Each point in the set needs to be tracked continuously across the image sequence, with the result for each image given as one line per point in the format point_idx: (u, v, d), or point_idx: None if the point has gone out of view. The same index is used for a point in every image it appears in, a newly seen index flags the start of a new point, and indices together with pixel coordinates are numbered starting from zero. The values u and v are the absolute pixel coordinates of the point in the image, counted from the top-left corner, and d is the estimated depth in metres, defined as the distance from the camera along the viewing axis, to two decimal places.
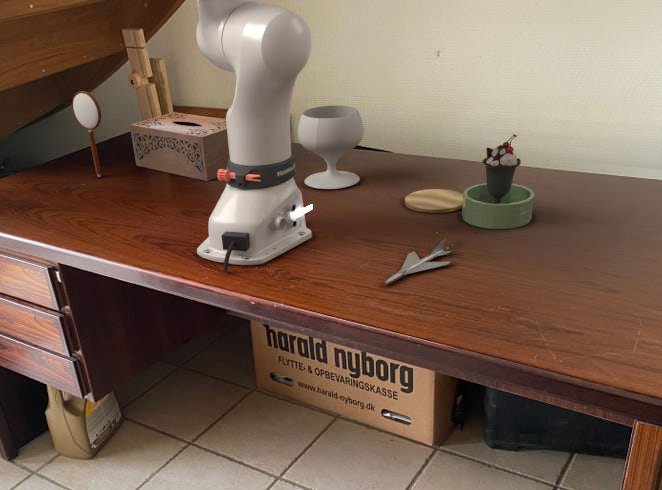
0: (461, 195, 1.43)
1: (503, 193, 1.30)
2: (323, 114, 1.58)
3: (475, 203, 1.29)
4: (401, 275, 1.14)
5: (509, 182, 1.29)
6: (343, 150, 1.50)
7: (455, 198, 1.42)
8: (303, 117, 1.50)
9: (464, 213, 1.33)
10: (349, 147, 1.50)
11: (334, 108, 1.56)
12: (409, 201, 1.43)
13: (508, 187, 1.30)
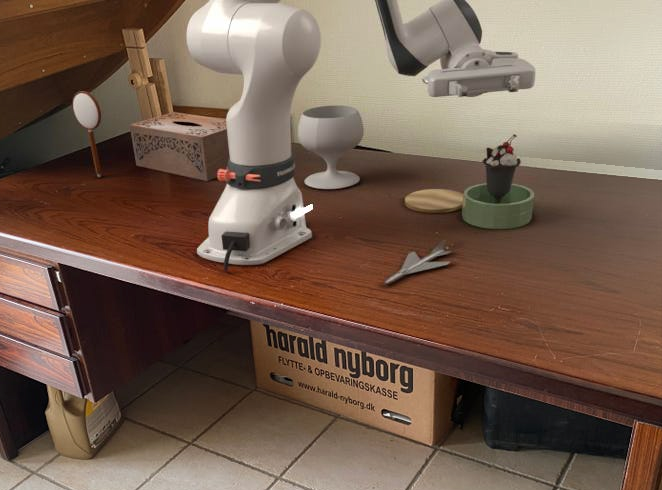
0: (461, 195, 1.43)
1: (503, 193, 1.30)
2: (323, 114, 1.58)
3: (475, 203, 1.29)
4: (401, 275, 1.14)
5: (509, 182, 1.29)
6: (343, 150, 1.50)
7: (455, 198, 1.42)
8: (303, 117, 1.50)
9: (464, 213, 1.33)
10: (349, 147, 1.50)
11: (334, 108, 1.56)
12: (409, 201, 1.43)
13: (508, 187, 1.30)
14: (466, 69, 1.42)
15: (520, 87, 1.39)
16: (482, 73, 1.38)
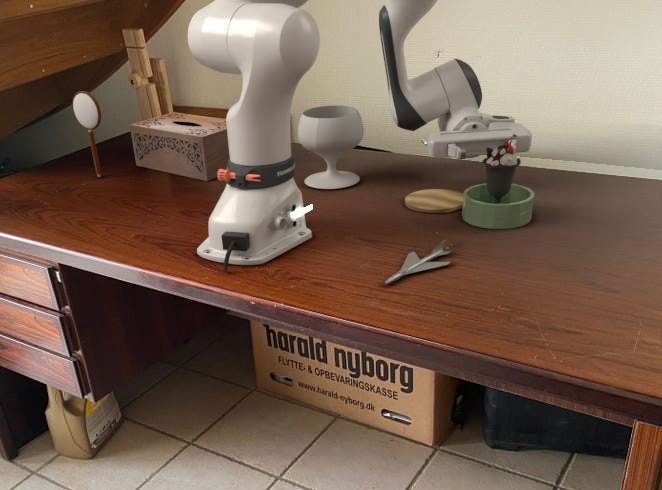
0: (461, 195, 1.43)
1: (503, 193, 1.30)
2: (323, 114, 1.58)
3: (475, 203, 1.29)
4: (401, 275, 1.14)
5: (509, 182, 1.29)
6: (343, 150, 1.50)
7: (455, 198, 1.42)
8: (303, 117, 1.50)
9: (464, 213, 1.33)
10: (349, 147, 1.50)
11: (334, 108, 1.56)
12: (409, 201, 1.43)
13: (508, 187, 1.30)
14: (464, 132, 1.46)
15: (517, 150, 1.42)
16: (480, 136, 1.42)
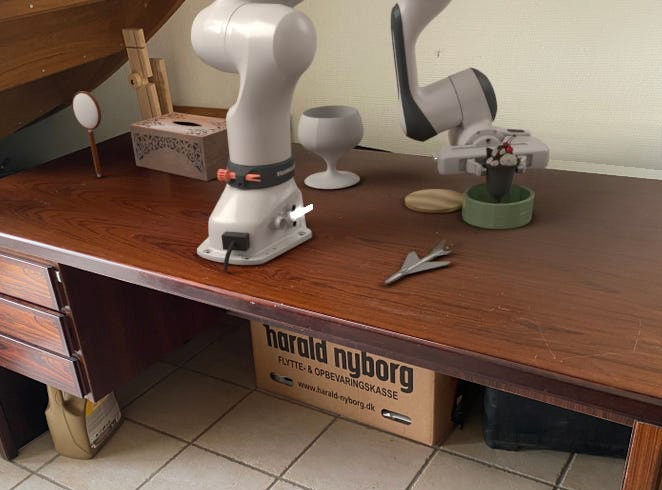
0: (461, 195, 1.43)
1: (503, 193, 1.30)
2: (323, 114, 1.58)
3: (475, 203, 1.29)
4: (401, 275, 1.14)
5: (509, 182, 1.29)
6: (343, 150, 1.50)
7: (455, 198, 1.42)
8: (303, 117, 1.50)
9: (464, 213, 1.33)
10: (349, 147, 1.50)
11: (334, 108, 1.56)
12: (409, 201, 1.43)
13: (508, 187, 1.30)
14: (477, 146, 1.37)
15: (534, 167, 1.33)
16: None
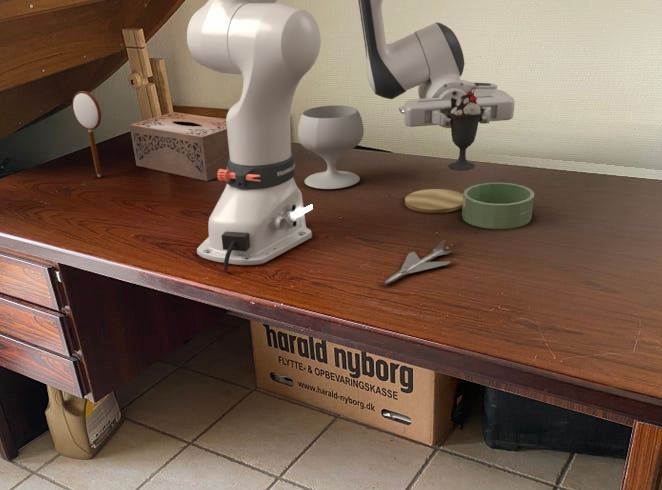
0: (461, 195, 1.43)
1: (467, 143, 1.31)
2: (323, 114, 1.58)
3: (475, 203, 1.29)
4: (401, 275, 1.14)
5: (473, 132, 1.30)
6: (343, 150, 1.50)
7: (455, 198, 1.42)
8: (303, 117, 1.50)
9: (464, 213, 1.33)
10: (349, 147, 1.50)
11: (334, 108, 1.56)
12: (409, 201, 1.43)
13: (472, 137, 1.31)
14: (444, 99, 1.38)
15: (499, 118, 1.34)
16: None
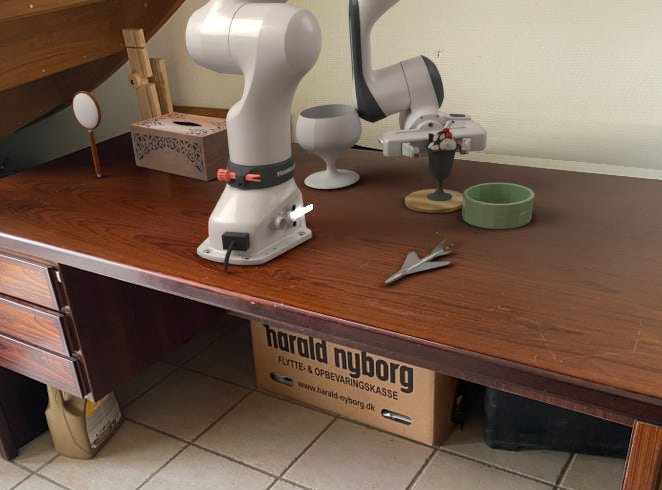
0: (461, 195, 1.43)
1: (444, 176, 1.39)
2: (321, 113, 1.57)
3: (475, 203, 1.29)
4: (401, 275, 1.14)
5: (449, 165, 1.38)
6: (341, 149, 1.50)
7: (455, 198, 1.42)
8: (300, 118, 1.50)
9: (464, 213, 1.33)
10: (347, 146, 1.50)
11: (332, 106, 1.56)
12: (409, 201, 1.43)
13: (448, 170, 1.39)
14: (420, 130, 1.45)
15: (472, 149, 1.42)
16: None
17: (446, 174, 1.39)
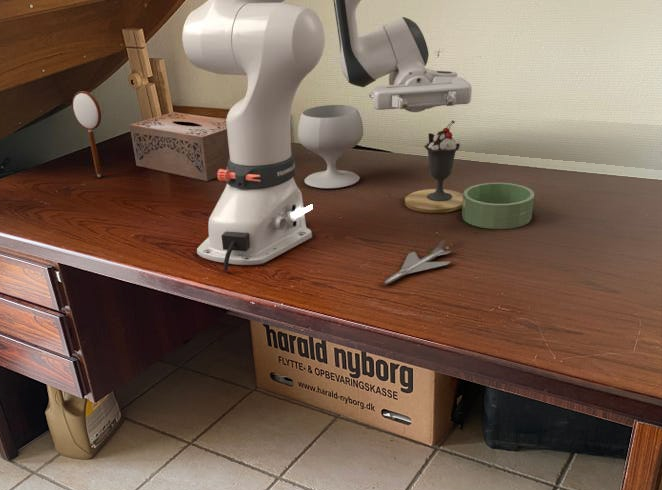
0: (461, 195, 1.43)
1: (444, 176, 1.39)
2: (320, 114, 1.58)
3: (475, 203, 1.29)
4: (401, 275, 1.14)
5: (449, 165, 1.38)
6: (345, 149, 1.51)
7: (455, 198, 1.42)
8: (304, 117, 1.50)
9: (464, 213, 1.33)
10: (351, 146, 1.51)
11: (332, 107, 1.57)
12: (409, 201, 1.43)
13: (448, 170, 1.39)
14: (409, 85, 1.53)
15: (458, 102, 1.49)
16: (422, 88, 1.49)
17: (446, 174, 1.39)
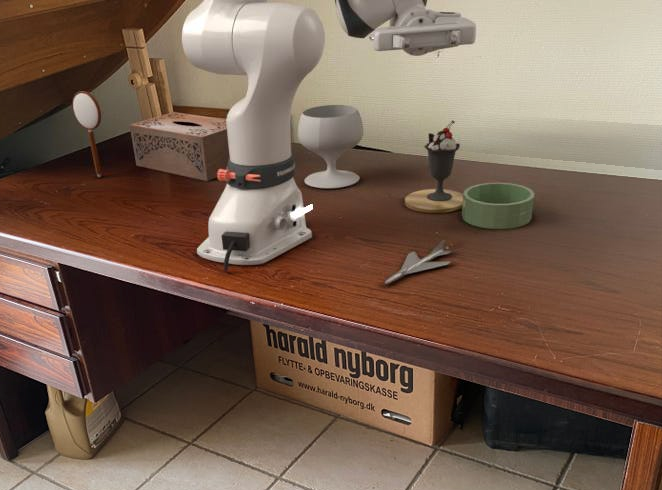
0: (461, 195, 1.43)
1: (444, 176, 1.39)
2: (320, 114, 1.58)
3: (475, 203, 1.29)
4: (401, 275, 1.14)
5: (449, 165, 1.38)
6: (345, 149, 1.51)
7: (455, 198, 1.42)
8: (304, 117, 1.50)
9: (464, 213, 1.33)
10: (351, 146, 1.51)
11: (332, 107, 1.57)
12: (409, 201, 1.43)
13: (448, 170, 1.39)
14: (410, 26, 1.47)
15: (461, 42, 1.43)
16: (425, 28, 1.43)
17: (446, 174, 1.39)
